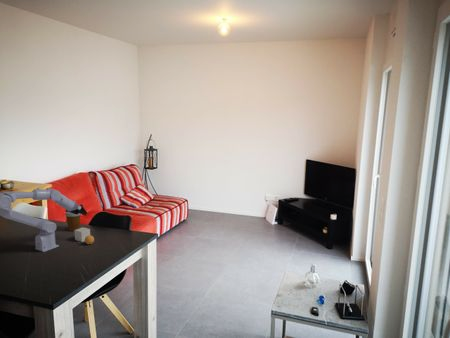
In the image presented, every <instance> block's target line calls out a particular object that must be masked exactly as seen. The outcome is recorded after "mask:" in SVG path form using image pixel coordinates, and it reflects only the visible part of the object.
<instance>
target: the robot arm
mask: <svg viewBox="0 0 450 338" xmlns="http://www.w3.org/2000/svg"><path fill="white" fill-rule="evenodd" d="M21 199H23V200H24V199H32V200H34V201H45V200H47V201H48V200H51V201H53V202H54V203H55V204H56V205H58V206H60V207H62V208H63V209H64V210H65V213H66V212H70V213H73V214H76V215H78V213H80V214H81V216H82V215H83V216H87V215H88V212H87V210H86V209H85V208H84V205H83V204H82V203H81V204H77V202H76V200H74V199H73V200H71V199H70V198H68V197H67V196H65V195H64V194H62V193H61V192H60V191H59V190H57V189H54V188H50V187H47V188H45V189H43V188H42V189H41V188H40V187H37V188H36V189H33V190H32V191H2V192H0V217H2V218H4V219H7V220H10V221H15V222H18V223H21V224H23V225H27V226H30V227H34V228H37V229H38V230H40V231H39V233H38V234H37V235H36V236H35V237H34V240H35V242H34V243H35V248H34V249H35V250H37V251H39V252H42V253H45V252H48V251H51V250H53V249H55V248H58V247H60V245H59V244H56V232H55V231H56V230H57V224H56V222H53V221H50V220H49V219H47V218H38V217H35V216H31V215H29V214H28V215H27V214H25V213H21V212H18V211H16V210H12V203H15V202H16V200H21Z"/></svg>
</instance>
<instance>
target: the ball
mask: <svg viewBox="0 0 450 338" xmlns="http://www.w3.org/2000/svg"><path fill="white" fill-rule="evenodd" d="M94 242H95V237H94V236H93V235H91V234H90V235H89V236H87V237H86V238H85V241H84V243H85V244H87V245H91V244H93V243H94Z"/></svg>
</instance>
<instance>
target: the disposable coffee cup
mask: <svg viewBox="0 0 450 338" xmlns="http://www.w3.org/2000/svg"><path fill="white" fill-rule="evenodd" d="M64 215H65V219H66V223H67V229H68V231H69V232H75V230H77V229H80V228H81V227H80V226H81V216H82V214H80V213H78V215H76V214H73V213H70V212H66V211H65V213H64Z"/></svg>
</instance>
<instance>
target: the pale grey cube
mask: <svg viewBox="0 0 450 338" xmlns="http://www.w3.org/2000/svg"><path fill="white" fill-rule="evenodd" d="M89 235H91V228H87V227H80V228H79V229H77V230H75V231H74V240H75V241H77V242H81V243H82V242H83V243H84V242H85V238H86V237H87V236H89Z"/></svg>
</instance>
